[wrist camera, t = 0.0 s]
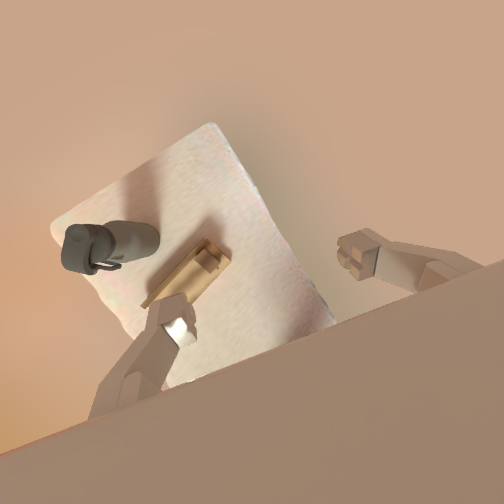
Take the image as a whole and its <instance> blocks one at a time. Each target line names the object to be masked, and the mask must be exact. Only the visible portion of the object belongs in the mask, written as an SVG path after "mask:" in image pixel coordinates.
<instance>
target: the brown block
mask: <svg viewBox="0 0 504 504" xmlns="http://www.w3.org/2000/svg"><path fill="white" fill-rule="evenodd" d="M194 260H195V261H196V262H197V263H198V264H199V265H201V266H202V267H203V268H204V269H205V270H206V271H207V272H209V273H210V274H211V273H212V272H213V271H214V270H215V269H216V268H217V269H219V267H217V266H218V265H219V264H220V262H221V261H220V260H219V259H218V258H217V257H216V256H214V255H213V254H212V253H211V252H210V251H209V250H208V249H207V248H204V249H203V250H202V251H201V252H200V253H199V254H198V255H197V256H196V258H195V259H194Z"/></svg>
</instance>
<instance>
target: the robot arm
mask: <svg viewBox="0 0 504 504" xmlns="http://www.w3.org/2000/svg"><path fill="white" fill-rule="evenodd" d="M338 245H339V246H340V248H339V250H338V251H337V257H338V260H339V262H340V264H341V265H342V266H343V267H344V268H347V269H350V274H351V275H352V276H353V277H354V278H355V279H357V280H358V281H361V280H364V279H367V278H370V277H373V276H374V277H376V278H378V279H381V280H383V281H386V282H388V283H391V284H393V285H396V286H398V287H401V288H403V289H406V290H408V291H411V292H413V293H415V294H413V295H410V296H408V297H405V298H403V299H400V300H398V301H395V302H392V303H390V304H387V305H385V306H382V307H380V308H377V309H374V310H372V311H369V312H367V313H364V314H362V315H359V316H356V317H354V318H352V319H349V320H346V321H344V322H341V323H338V324H336V325H333V326H331V327H328V328H325V329H323V330H320V331H318V332H315V333H312V334H310V335H307V336H305V337H302V338H300V339H297V340H294V341H292V342H289V343H287V344H284V345H282V346H279V347H276V348H274V349H271V350H269V351H266V352H263V353H261V354H258V355H256V356H253V357H250V358H248V359H245V360H243V361H240V362H238V363H235V364H232V365H230V366H227V367H225V368H222V369H219V370H217V371H214V372H212V373H209V374H206V375H204V376H201V377H199V378H196V379H194V380H191V381H188V382H186V383H183V384H181V385H178V386H176V387H173V388H170V389H168V390H165V391H161V387H162V385H163V382H164V381H165V379H166V376H167V374H168V372H169V370H170V368H171V366H172V364H173V362H174V360H175V358H176V356H177V354H178V352H179V348H181V347H184V346H186V345H189V344H191V343H194V342H196V341H197V329H196V327H195V326H194V324H195V322H196V315H195V311H194V308H193V306H192V304H191V303H189V302H187V296H186V294H185V293H184V292H180V293H177V294H174V295H171V296H168V297H165V298H162V299H159V300H156V301H153V302H151V304H150V307H149V312H148V317H147V322H146V327H145V331H142V332H141V333H140V334H139V336H138V337H137V338H136V339H135V341H134V342H133V343H132V344H131V346H130V347H129V348H128V349H127V351H126V352H125V353H124V354H123V356H122V357H121V358H120V359H119V361H118V362H117V363H116V364H115V366H114V367H113V368H112V369H111V370H110V372H109V373H108V374H107V375H106V377H105V378H104V379H103V381H102V382H101V383H100V384H99V387H98V390H97V393H96V396H95V399H94V402H93V405H92V409H91V411H90V414H89V417H88V420H87V421H85V422H83V423H80V424H78V425H75V426H73V427H70V428H67V429H65V430H62V431H60V432H57V433H55V434H52V435H49V436H46V437H44V438H41V439H39V440H36V441H34V442H31V443H29V444H26V445H23V446H21V447H18V448H16V449H13V450H10V451H8V452H5V453H2V454H0V504H504V259H503V260H501V261H498V262H496V263H493V264H491V265H488V266H485V267H484V266H482V265H480V264H478V263H476V262H474V261H472V260H470V259H468V258H466V257H464V256H462V255H460V254H458V253H456V252H452V251H446V250H441V249H435V248H429V247H424V246H418V245H412V244H406V243H400V242H390V241H388V240H387V239H385V238H384V237H382V236H380V235H379V234H377V233H375V232H374V231H372V230H370V229H368V228H364V229H362V230H359V231H357V232H354V233H351V234H349V235H346V236H343V237H340V238H339V239H338Z"/></svg>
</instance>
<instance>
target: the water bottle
mask: <svg viewBox="0 0 504 504" xmlns="http://www.w3.org/2000/svg"><path fill="white" fill-rule="evenodd" d="M159 244H160V238H159V234H158V232H157V231H156V230H155V229H154V228H153V227H152V226H150V225H148V224H143V223H136V222H129V221H121V220H116V221H110V222H108V223H106V224H104V225H103V226H102V225H94V224H73V225H71V226H69V227H68V228H67V230H66V232H65V239H64V243H63V247H62V252H61V262H62V265H63V266H64V268H65V269H67V270H70V271H74V272H78V273H82V274H87V275H94V274H96V273H97V270H98V269H103V270H108V271H113V270H116V269H120V268H121V266H122V265H121V264H119V263H126V262H130V261H133V260H137V259H140V258H144V257H148V256H150V255H152V254H153V253H155V252H156V251H157V249H158V247H159ZM107 260H108V261H107ZM98 262H101V263H105V264H109V265H113V266H112V267H108V266H102V265H98V264H94V263H98Z"/></svg>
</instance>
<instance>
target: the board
mask: <svg viewBox="0 0 504 504" xmlns="http://www.w3.org/2000/svg"><path fill="white" fill-rule="evenodd" d="M204 248H207V249H208V250H209V251H210V252H211V253H212V254H213V255H214V256H216V257H217V258H218V259H219V260H220V261H221V262H220V264H219V265H218V266H217V267H219V269H217V268H216V269H215V270H214V271H213V272H212V273H211V274H210V273H209V272H207V271H206V270H205V269H204V268H203V267H202V266H201V265H199V264H198V263H197V262H196V261H195V260H194V259H195V258H196V256H197V255H198V254H199V253H200V252H201V251H202V250H203V249H204ZM230 263H231V260H230V259H228V258H227V257H226V256H225V255H224V254H223V253H222V252H221V251H220V250H219V249H217V248H216V247H215V246H214V245H213V244H212V243H211V242H210V241H209V240H208V239H206V238H203V239H202V241H201V242H200V243H199V244H198V245H197V246H196V247H195V248H194V249H193V250H192V251H191V252H190V253H189V254H188V255H187V256H186V258H185V259H184V260H183V261H182V262H181V263H180V264H179V265H178V266H177V267H176V268H175V269H174V270H173V271H172V272H171V274H170V275H169V276H168V277H167V278H166V279H165V280H164V281H163V282H162V283H161V284H160V285H159V286H158V287H157V288H156V289H155V291H154V292H153V293H152V294H151V295H150V296H149V297H148V298H147V299H146V300H145V301H144V302H143V303H142V304H141V305H140V306H141V307H142V308H144V309H146V308H147V307H150V304H151V302H153V301H156V300H159V299H162V298H165V297H168V296H171V295H174V294H177V293H180V292H184V293H185V294H186V296H187V302H189V303H191V304H193V302H194V301H195V300H196V299H197V298H198V297H199V296H200V295H201V294H202V293H203V292H204V291H205V290H206V289H207V287H208V286H209V285H210V284H211V283H212V282H213V281H214V280H215V279H216V278H217V277H218V276H219V275H220V273H221V272H222V271H223V270H224V269H225V268H226V267H227V266H228V265H229V264H230Z"/></svg>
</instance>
